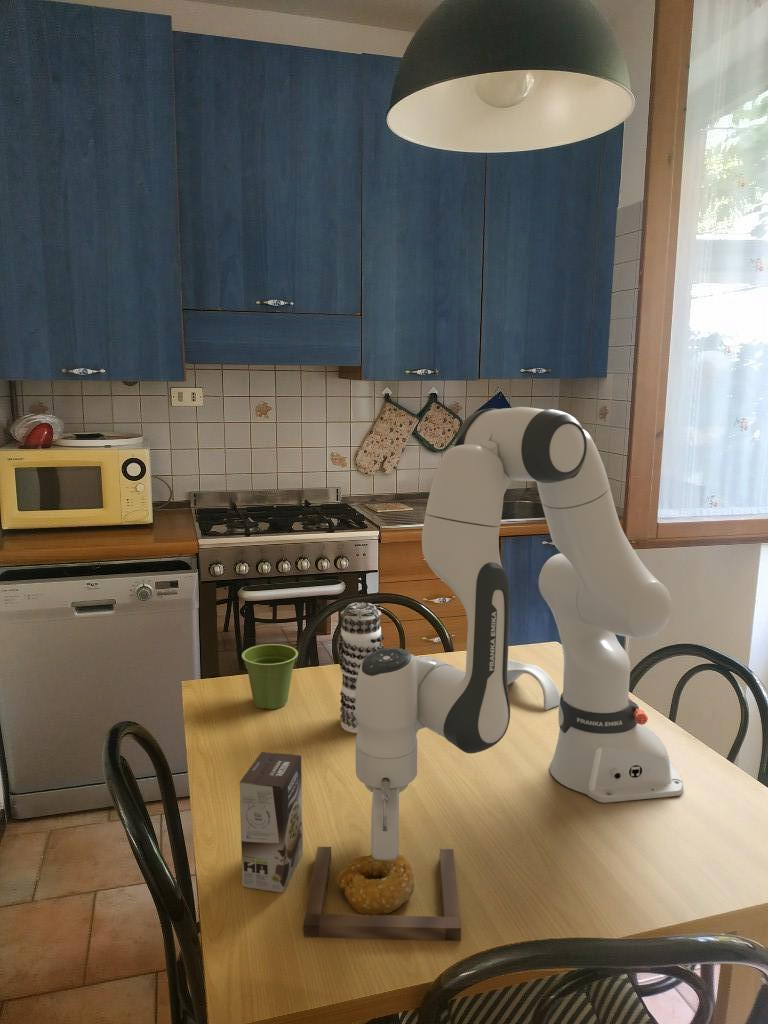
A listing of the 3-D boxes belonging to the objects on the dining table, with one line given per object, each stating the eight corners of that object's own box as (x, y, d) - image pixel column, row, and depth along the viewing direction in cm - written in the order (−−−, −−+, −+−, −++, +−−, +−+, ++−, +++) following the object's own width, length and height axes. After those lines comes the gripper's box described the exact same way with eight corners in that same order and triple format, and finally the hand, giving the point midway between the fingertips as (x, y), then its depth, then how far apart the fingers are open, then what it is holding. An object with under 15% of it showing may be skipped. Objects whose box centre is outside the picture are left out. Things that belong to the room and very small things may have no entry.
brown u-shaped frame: (453, 860, 112) (453, 849, 112) (460, 940, 97) (461, 928, 96) (317, 857, 113) (317, 846, 113) (303, 937, 97) (303, 924, 97)
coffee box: (285, 894, 105) (282, 787, 102) (241, 887, 106) (237, 782, 103) (305, 853, 114) (303, 753, 111) (264, 847, 115) (261, 749, 112)
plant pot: (276, 720, 157) (274, 668, 154) (231, 707, 162) (229, 657, 160) (309, 698, 167) (309, 649, 164) (266, 687, 172) (265, 639, 170)
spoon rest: (459, 679, 178) (459, 650, 176) (495, 667, 185) (496, 639, 183) (535, 716, 159) (537, 684, 158) (572, 701, 166) (574, 670, 165)
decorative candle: (374, 710, 161) (374, 596, 156) (391, 729, 153) (391, 610, 148) (333, 717, 158) (331, 601, 153) (347, 737, 149) (346, 615, 144)
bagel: (361, 859, 113) (361, 831, 112) (427, 886, 107) (427, 856, 106) (322, 900, 104) (321, 869, 103) (391, 931, 99) (391, 899, 98)
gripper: (409, 803, 99) (408, 897, 102) (408, 729, 119) (407, 809, 122) (360, 802, 99) (360, 896, 102) (367, 728, 119) (367, 808, 122)
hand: (386, 848), depth 112 cm, fingers closed
